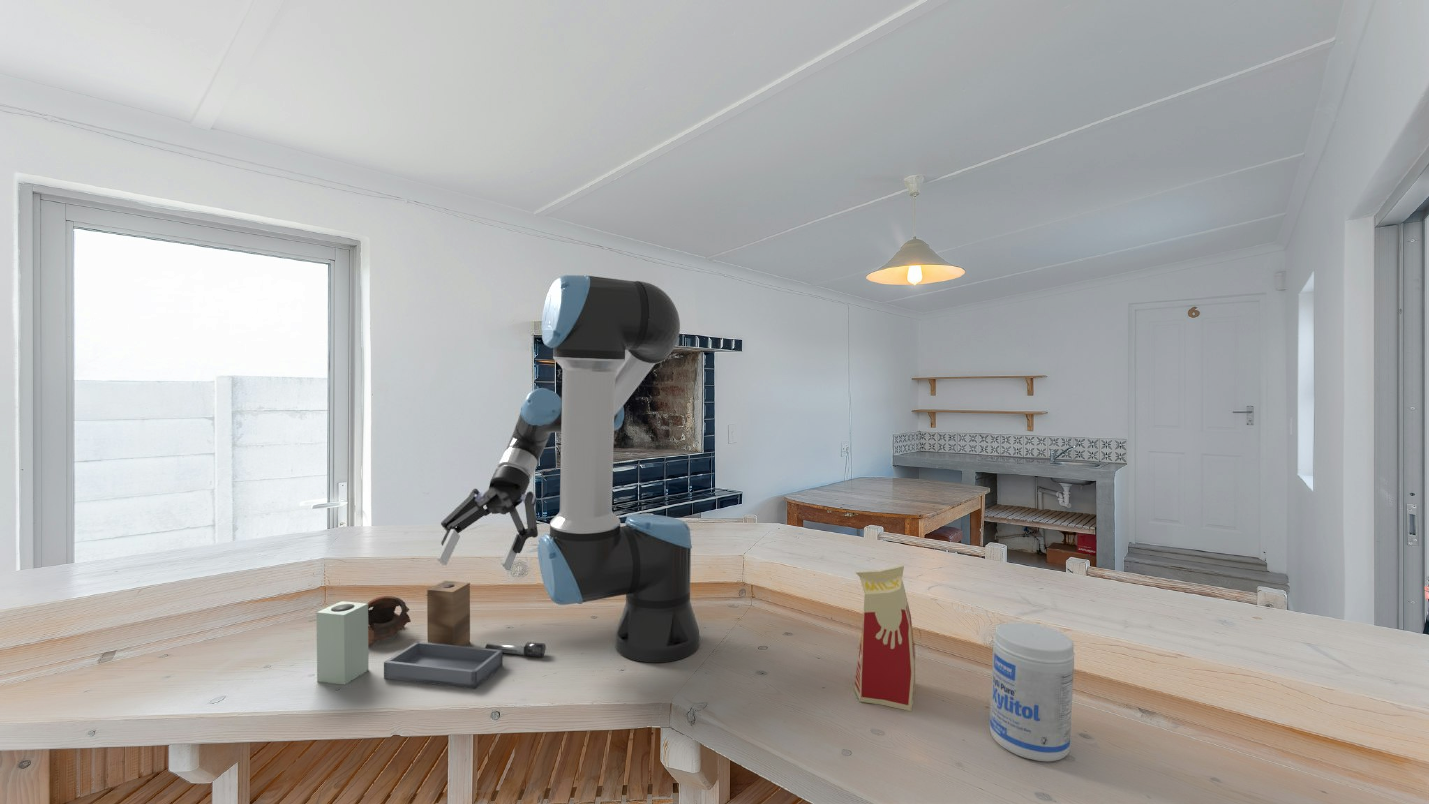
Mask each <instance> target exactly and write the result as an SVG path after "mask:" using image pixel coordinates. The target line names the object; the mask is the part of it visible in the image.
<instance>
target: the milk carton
mask: <svg viewBox="0 0 1429 804" xmlns="http://www.w3.org/2000/svg"><path fill="white" fill-rule="evenodd" d="M904 568H905V565H900V566H896V567H892V568H891V567H890V568H885V569H882V570H874V571H873V570H871V571H855V574H856V575H857V576H858V577H859V580H860V583H861V587H862V591H863V594H864V596H863V597H864V599H863V601H864V602H863V617H862V625H861V626H862V627H861V633H860V640H859V646H858V647H859V649H858V657H857V663H856V664H857V665H856V673H855V677H854V678H855V680H854V684H853V689H854V691H855V694H856V696H857V698H858V700H859V702H860V703H868V704H873V705H874V704H875V705H882V706H887V707H891V708H894V709H900V710H902V711H903V710H904V711H908V712H912V710H913V709H912V707H913V703H914V699H915V692H916V691H915V690H916V646H915V640H914V639H915V638H914V630H913V623H912V614H911V609H910V606H909V602H908V598H907V593H906V589H905V584H904V581H903V575H904V570H905V569H904Z"/></svg>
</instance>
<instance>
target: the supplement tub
mask: <svg viewBox="0 0 1429 804" xmlns="http://www.w3.org/2000/svg"><path fill="white" fill-rule="evenodd" d="M992 645H993V647H992V661H991V662H992V663H991V664H992V665H991V668H992V669H991V690H990V709H989V710H990V712H989V713H990V714H989V730H990V734H991V736H992V738H993V739H994V741H995V742H997V743H998V744H999V745H1000V746H1001V747H1002V748H1003V749H1005V750H1007V751H1008V752H1010V753H1012V754H1013V755H1017V756H1019V757H1021V758H1025V759H1028V760H1033V761H1037V762H1056V761H1059V760H1062V759H1064V758H1065V757H1067V756H1068V754H1069V752H1070V748H1071V745H1070V744H1071V732H1072V731H1071V730H1072V729H1071V728H1072V713H1073V712H1072V710H1073V694H1074V692H1073V690H1074V689H1073V688H1074V671H1075V669H1074V668H1075V652H1074V647H1075V646H1074V642H1073V640H1072V639H1071V637H1070V636H1068V635H1067V634H1065V633H1063V632H1061V631H1059V630H1057V629H1054V628H1051V627H1049V626H1046V625H1042V624H1039V623H1038V624H1037V623H1031V622H1027V621H1026V622H1025V621H1008V622H1002V623H999V624H998V625H997V626H996V627H995V633H994V638H993V644H992Z"/></svg>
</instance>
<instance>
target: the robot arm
mask: <svg viewBox="0 0 1429 804" xmlns="http://www.w3.org/2000/svg"><path fill="white" fill-rule="evenodd" d="M545 298H546V299H545V302H544V306H543V310H542V315H541V316H542V317H541V318H542V319H541V328H540V329H541V334H542V335H541V339H542V342H543V344H544V346H546V347H548V348H550V349H552V348H553V350H552V351H553V352H552V353H553V354H552V355H553V356H552V359H553V360H554V361H555V362H556V363H557V364H558V365H559V366H560V368H561V371H562V375H561V376H562V382H561V386H562V387H561V397H560V396H559V394H558V393H557V392H555V391H553V390H550V389H548V388H543V387H541V388H536V389H534V390H532V391H530V392H529V393H528V395H527V396H526V398H524V401H523V403H522V405H521V408H520V412H519V415H518V420H517V422H516V424H515V427H514V430H513V432H512V434H511V437H510V439H509V442H508V443H507V446H506V449H505V450H504V452H503V453H502V455H501V458H500V460H499V462H498V464H497V468H496V469H495V470H494V473H493V475H492V477H491V479H490V481H489V486H488V488H487V490H486V491H480V490H479V489H478V488H473V489H472V491H471V492H470V493H469V495H468V496H467V498H466V499H464V500H463V501H462V502H461V503H460V504H459V505H458V506H457V507H456V508H455V509H454V510H453V511H452V512H451V513H449V514H448V515H447V516H446V517H445V518H444V519H443V520H442V521H441V522H440V525H441V526H442V528H443V529H444V530H445V534H444V536H443V538H442V540H441V548H440V551H439V552H438V555H437V557H436V560H437V561H438V562H439V563H440V564H441V565H442V566H447V565H448V562H449V560H450V558H451V557H452V555H453V552H454V551H455V548H456V546H457V544H458V542H459V539H460V537H461V535H460V533H461V532H462V531H464V530H465V529H467V528H469V527H470V526H472V525H473V524H474V523H476V522H477V521H478V520H480V519H481V518H483V517H487V516H488V515H490V514H492V515H497V514H499V515H506V514H508V513H509V515H510V516H511V517H510V518H511V519H512V522H513V523H514V526H515V529H516V531H517V532H516V533H515V532H513V533H512V535H511V537H510V541H509V543H508V546H507V548H506V550H505V553H504V555H503V557H502V560H501V562H500V565H502V567H503V569H505V570H506V571H511V569H512V566H513V565H514V562H515V560H516V559H515V558H516V557H517V554H521V553H522V551H523V548H524V547H525V543H526V541H527V540H528V539H529V538H537V537H538V535H539V531H538V525H537V517H536V516H537V515H536V509H535V506H536V503H537V498H536V496H535V494H534V493H533V492H532V491H528V492H527V490H528V488H529V485H530V482H531V479H532V477H533V475H534V473H535V470H536V467H537V466H538V464H539V461H540V458H541V456H542V454H543V451H544V450H545V448H546V445H547V442H548V441H549V439H550V437H551V434H553V433H561V434H560V437H561V438H560V474H559V475H560V476H559V477H560V478H559V479H560V481H559V482H560V483H559V484H560V485H559V512H558V513H557V514H556V515H555V516H554V517H553V518H552V519H551V520H550V522H549V534H548V533H545V534H544V535H541V536H540V537H539V538H538V544H537V560H538V565H539V571H540V575H541V578H542V584H543V585H544V588H545V591H546V593H547V595H548V597H549V598H550V600H551V601H552V602H553V603H555V604H556V605H560V606H564V605H566V606H567V605H573V604H579V605H581V604H583V603H587V602H592V601H594V602H595V601H597V600H605V599H609V598H615V597H618V596H619V597H621V596H625V605H624V608H623V610H622V614H621V617H620V620H619V621H618V622H619V623H618V627H617V629H616V633H615V649H616V652H618V654H620V655H621V656H623V657H625V658H628V659H630V660H633V661H637V662H641V663H642V662H643V663H644V662H645V663H665V662H673V661H676V660H680V659H684V658H686V657H688V656H690V655H693V654H694V653H695V652H696V651H697V650H698V649H699V647H700V628H699V626H698V623H697V619H696V616H695V612H694V610H693V606H692V603H691V602H692V601H691V575H692V573H691V568H692V567H691V566H692V565H691V563H692V562H691V559H692V556H691V555H692V551H691V550H692V549H693V546H692V540H691V539H692V536H691V529H690V526H689V525H688V523H687V522H685V521H684V520H681V519H679V518H675V517H671V516H666V515H661V514H659V515H658V514H652V513H651V514H648V513H636V514H631V515H628V516H627V517H626V520H625V522H624V523H625V525H623V526H621V519H620V518H619V517H618V516H617V515H616V514H615V513H614V512H613V479H614V477H613V475H614V474H613V473H614V472H613V471H614V440H615V439H614V438H615V436H614V435H615V433H614V432H615V431H616V430H618V429H620V428H622V425H623V422H624V419H625V408H624V405H625V404H626V403H627V401H628V400H629V398H630V397H631V396H632V395H633V393H634V392H635V391H636V389H637V388H638V387H639V386H640V385H641V383H642V381H644V379H645V378H646V376H647V375H648V374H649V372H651V370H652V369H653V368H654V366H655V365H656V364H659V363H663V362H664V361H665V360H666V359H667V358H668V357H669V356H670V354H671V353H672V352H673V351H674V349H675V347H676V345H677V343H678V340H679V337H680V331H681V321H680V316H679V312H678V310H677V309H678V308H677V307H676V304H675V303H674V301H673V300H672V298H671V297H670V296H669V295H668V294H667V293H666V292H665V291H664V290H662V289H661V288H660V287H658V286H656V285H655V284H652V283H651V282H650V283H649V282H646V281H641V280H640V281H638V280H626V279H619V278H618V279H617V278H611V277H603V276H602V277H601V276H594V275H587V274H586V275H585V274H583V275H579V274H578V275H574V274H572V275H570V274H568V275H566V274H565V275H561V276H560V277H558V278H556V279H555V280H554V281H553V282H552V284H551V286H550V288H549V290H548V293H547V294H546V297H545ZM522 502H523V504H524V508H525V509H524V510H525V518H526V526H527V528H526V527H525V525H524V523H523V521H522V519H521V517H520V515H519V512H518V510H517V506H519V505H521V504H522ZM484 506H485V507H486V508H484Z"/></svg>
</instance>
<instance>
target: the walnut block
mask: <svg viewBox="0 0 1429 804" xmlns="http://www.w3.org/2000/svg"><path fill="white" fill-rule="evenodd" d="M470 588H471V583H470V582H465V581H464V582H463V581H454V580H453V581H451V580H444V581H442V582H439V583H437V584H436V585H434V586H432V587H430V588H428V589H427V590H426V591H427V593H426V594H427V595H426V596H427V599H426V600H427V602H426V604H427V605H426V607H427V608H426V610H427V611H426V613H427V616H426V617H427V622H426V623H427V627H426V629H427V631H426V632H427V635H426V636H427V643H437V644H447V645H456V646H466V647H467V645H469V644H470V643H471V589H470Z"/></svg>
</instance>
